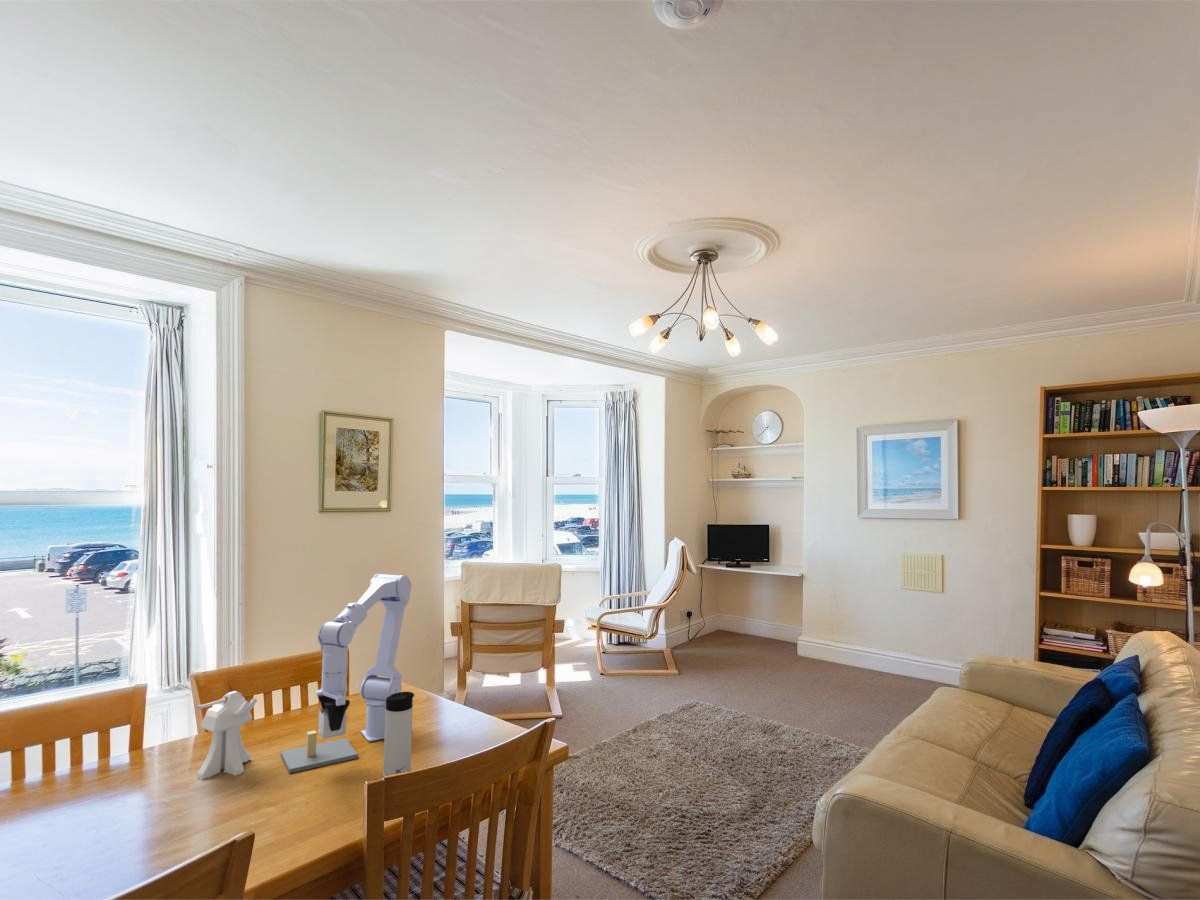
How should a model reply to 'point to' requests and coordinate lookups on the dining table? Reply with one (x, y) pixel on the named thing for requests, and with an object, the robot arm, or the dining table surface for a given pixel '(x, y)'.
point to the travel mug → (398, 733)
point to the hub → (325, 727)
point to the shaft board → (317, 753)
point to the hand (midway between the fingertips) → (332, 726)
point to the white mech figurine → (226, 734)
